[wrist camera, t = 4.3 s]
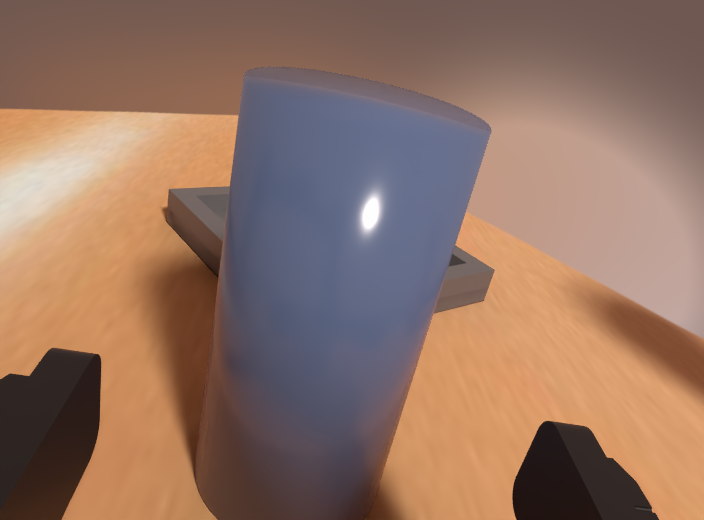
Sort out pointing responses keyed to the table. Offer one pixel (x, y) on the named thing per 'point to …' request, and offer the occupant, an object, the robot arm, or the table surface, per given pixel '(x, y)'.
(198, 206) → the tray
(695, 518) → the table surface
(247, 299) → the blue-grey cylinder
